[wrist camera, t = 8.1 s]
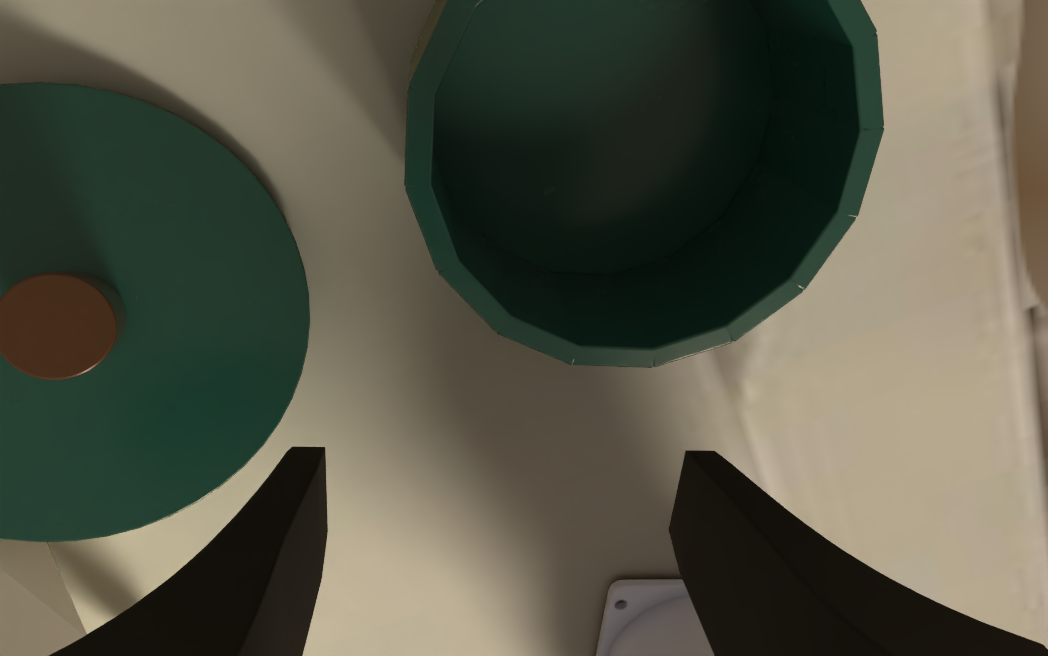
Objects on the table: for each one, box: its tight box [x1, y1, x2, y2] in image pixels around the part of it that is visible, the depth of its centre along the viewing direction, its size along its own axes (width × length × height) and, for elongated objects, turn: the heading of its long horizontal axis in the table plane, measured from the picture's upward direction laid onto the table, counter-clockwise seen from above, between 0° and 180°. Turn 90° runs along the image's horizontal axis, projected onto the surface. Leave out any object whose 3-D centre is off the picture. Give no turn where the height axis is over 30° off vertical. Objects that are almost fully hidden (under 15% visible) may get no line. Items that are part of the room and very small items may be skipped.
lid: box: [0, 82, 310, 542], centre depth 19 cm, size 12×12×4 cm
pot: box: [404, 0, 884, 368], centre depth 20 cm, size 11×11×6 cm
